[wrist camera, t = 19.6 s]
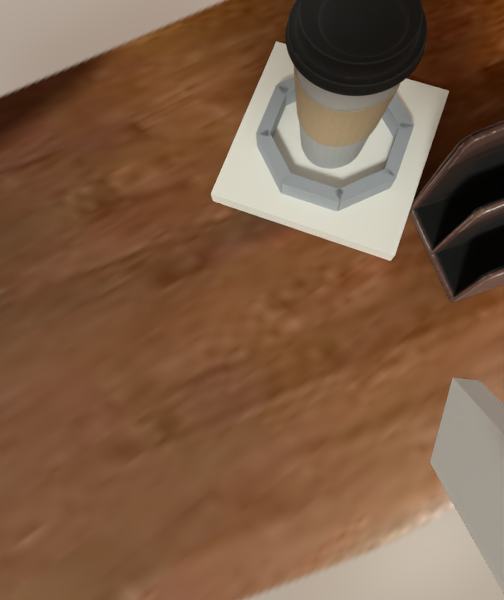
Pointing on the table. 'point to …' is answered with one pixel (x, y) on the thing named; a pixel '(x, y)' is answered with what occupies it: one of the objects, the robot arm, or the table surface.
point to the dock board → (329, 182)
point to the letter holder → (466, 215)
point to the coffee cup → (349, 69)
